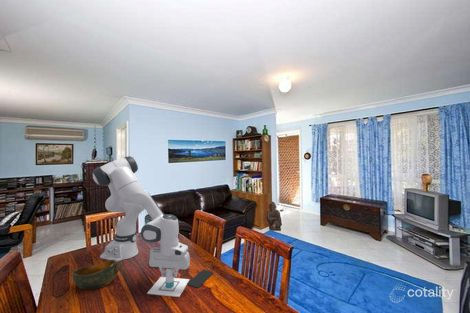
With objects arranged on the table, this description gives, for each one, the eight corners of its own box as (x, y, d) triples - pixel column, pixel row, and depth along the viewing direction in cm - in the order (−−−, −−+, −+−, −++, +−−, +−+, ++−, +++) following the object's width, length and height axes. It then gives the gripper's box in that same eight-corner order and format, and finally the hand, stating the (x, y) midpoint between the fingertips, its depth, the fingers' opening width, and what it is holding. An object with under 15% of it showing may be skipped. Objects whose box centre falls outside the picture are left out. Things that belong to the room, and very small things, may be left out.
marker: (163, 287, 98) (164, 267, 99) (167, 282, 102) (168, 263, 103) (171, 288, 98) (172, 268, 98) (175, 283, 102) (175, 264, 102)
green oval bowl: (104, 294, 94) (104, 273, 94) (68, 290, 97) (68, 269, 97) (124, 278, 106) (124, 259, 107) (92, 274, 110) (92, 256, 110)
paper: (147, 293, 95) (147, 292, 95) (160, 277, 108) (160, 276, 108) (179, 296, 92) (179, 296, 92) (189, 279, 105) (189, 279, 105)
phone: (214, 272, 112) (198, 287, 98) (214, 273, 112) (198, 289, 98) (203, 268, 115) (186, 283, 102) (203, 270, 115) (186, 285, 102)
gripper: (146, 249, 98) (146, 277, 98) (186, 252, 96) (186, 281, 96) (153, 244, 105) (153, 270, 105) (191, 246, 102) (191, 273, 102)
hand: (169, 275), depth 100 cm, fingers open, 5 cm apart
